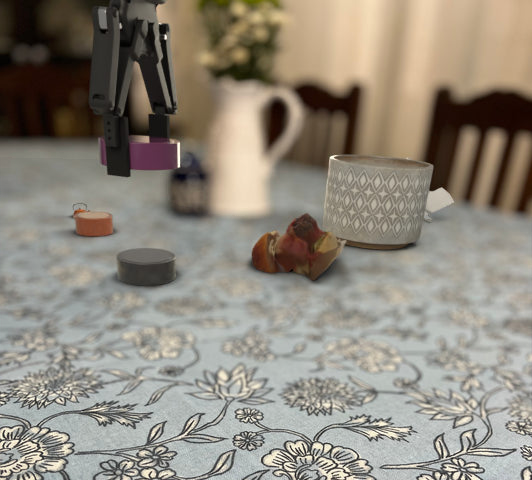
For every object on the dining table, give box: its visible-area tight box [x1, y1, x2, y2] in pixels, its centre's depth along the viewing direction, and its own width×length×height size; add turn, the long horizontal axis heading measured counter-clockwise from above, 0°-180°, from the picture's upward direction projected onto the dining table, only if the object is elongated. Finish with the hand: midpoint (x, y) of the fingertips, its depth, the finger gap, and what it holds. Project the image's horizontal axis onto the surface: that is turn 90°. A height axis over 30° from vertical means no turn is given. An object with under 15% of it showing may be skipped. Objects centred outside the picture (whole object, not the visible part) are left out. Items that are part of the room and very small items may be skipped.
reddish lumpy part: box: [251, 212, 346, 281], centre depth 82 cm, size 16×13×10 cm
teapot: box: [72, 202, 91, 219], centre depth 102 cm, size 3×3×3 cm
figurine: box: [405, 157, 455, 223], centre depth 120 cm, size 15×12×14 cm
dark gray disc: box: [115, 247, 177, 287], centre depth 72 cm, size 8×8×3 cm
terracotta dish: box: [73, 211, 114, 237], centre depth 92 cm, size 6×6×3 cm
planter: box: [322, 154, 434, 250], centre depth 97 cm, size 19×19×14 cm
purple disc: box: [97, 134, 181, 171], centre depth 66 cm, size 10×10×3 cm
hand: (141, 170), depth 67 cm, fingers closed on purple disc, 10 cm apart
